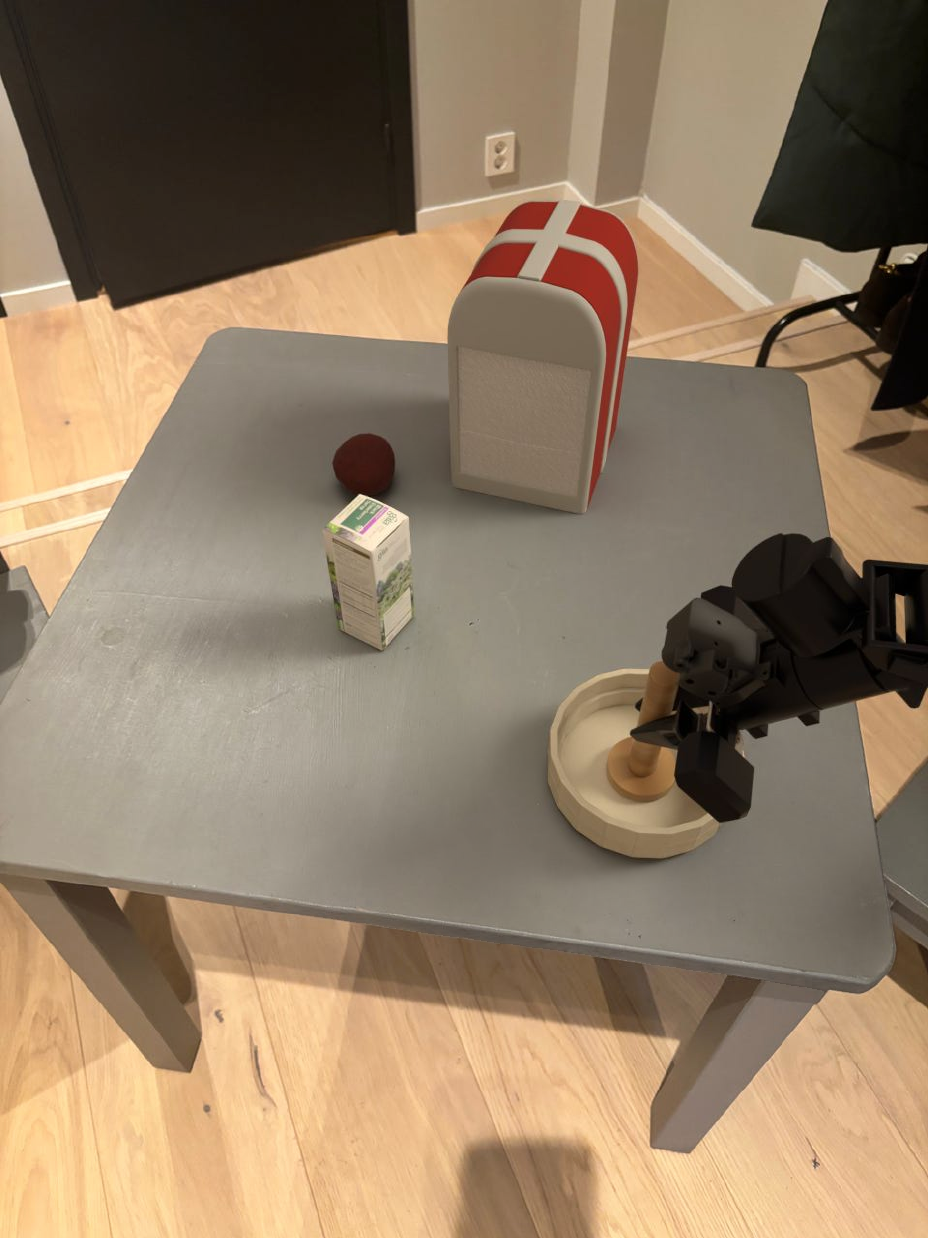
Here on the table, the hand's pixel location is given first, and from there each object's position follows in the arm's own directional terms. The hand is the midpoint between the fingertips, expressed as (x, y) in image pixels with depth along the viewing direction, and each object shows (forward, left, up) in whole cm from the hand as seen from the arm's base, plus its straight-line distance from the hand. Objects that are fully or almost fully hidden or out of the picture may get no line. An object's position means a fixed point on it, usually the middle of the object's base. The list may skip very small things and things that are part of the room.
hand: (635, 722), depth 74 cm
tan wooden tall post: (-1, 0, -7) cm, 7 cm away
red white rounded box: (+21, -39, -8) cm, 45 cm away
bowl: (-1, 0, -8) cm, 8 cm away
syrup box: (+28, -8, -8) cm, 30 cm away
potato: (+38, -27, -8) cm, 47 cm away
